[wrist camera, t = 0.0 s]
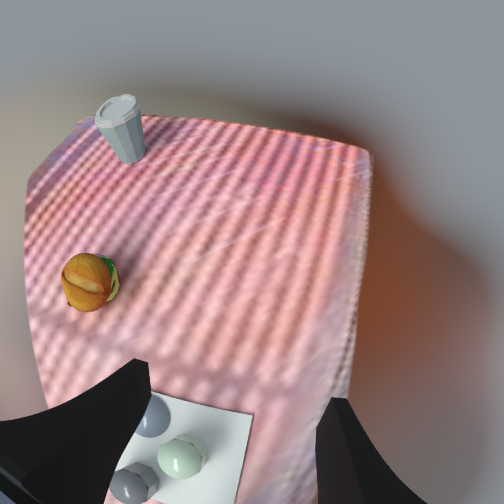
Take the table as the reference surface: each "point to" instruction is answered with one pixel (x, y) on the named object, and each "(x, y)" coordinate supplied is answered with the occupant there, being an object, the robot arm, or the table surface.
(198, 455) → the green acorn nut
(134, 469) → the grey acorn nut
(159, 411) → the coaster
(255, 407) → the table surface
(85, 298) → the cheeseburger
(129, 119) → the disposable coffee cup
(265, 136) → the table surface
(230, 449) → the mat
